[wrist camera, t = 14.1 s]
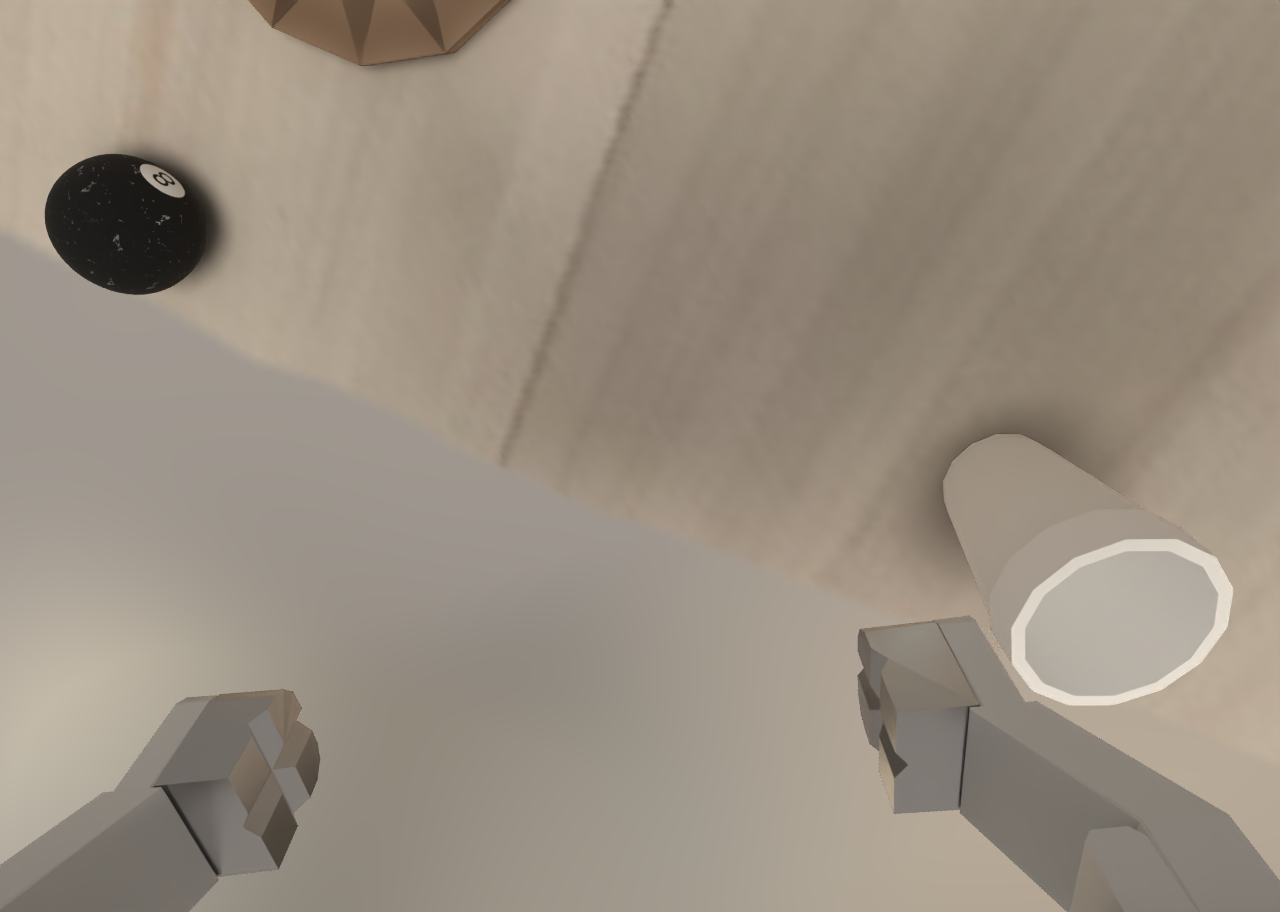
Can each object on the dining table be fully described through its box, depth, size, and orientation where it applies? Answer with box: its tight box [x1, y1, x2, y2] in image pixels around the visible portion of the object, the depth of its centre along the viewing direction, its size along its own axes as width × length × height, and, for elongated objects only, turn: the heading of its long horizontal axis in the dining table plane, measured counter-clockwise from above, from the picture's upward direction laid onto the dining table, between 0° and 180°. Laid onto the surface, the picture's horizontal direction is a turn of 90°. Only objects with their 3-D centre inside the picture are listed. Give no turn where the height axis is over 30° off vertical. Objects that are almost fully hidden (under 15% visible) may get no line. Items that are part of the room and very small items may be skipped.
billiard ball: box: [45, 154, 206, 295], centre depth 35 cm, size 6×6×6 cm
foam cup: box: [943, 434, 1233, 705], centre depth 40 cm, size 10×9×13 cm
